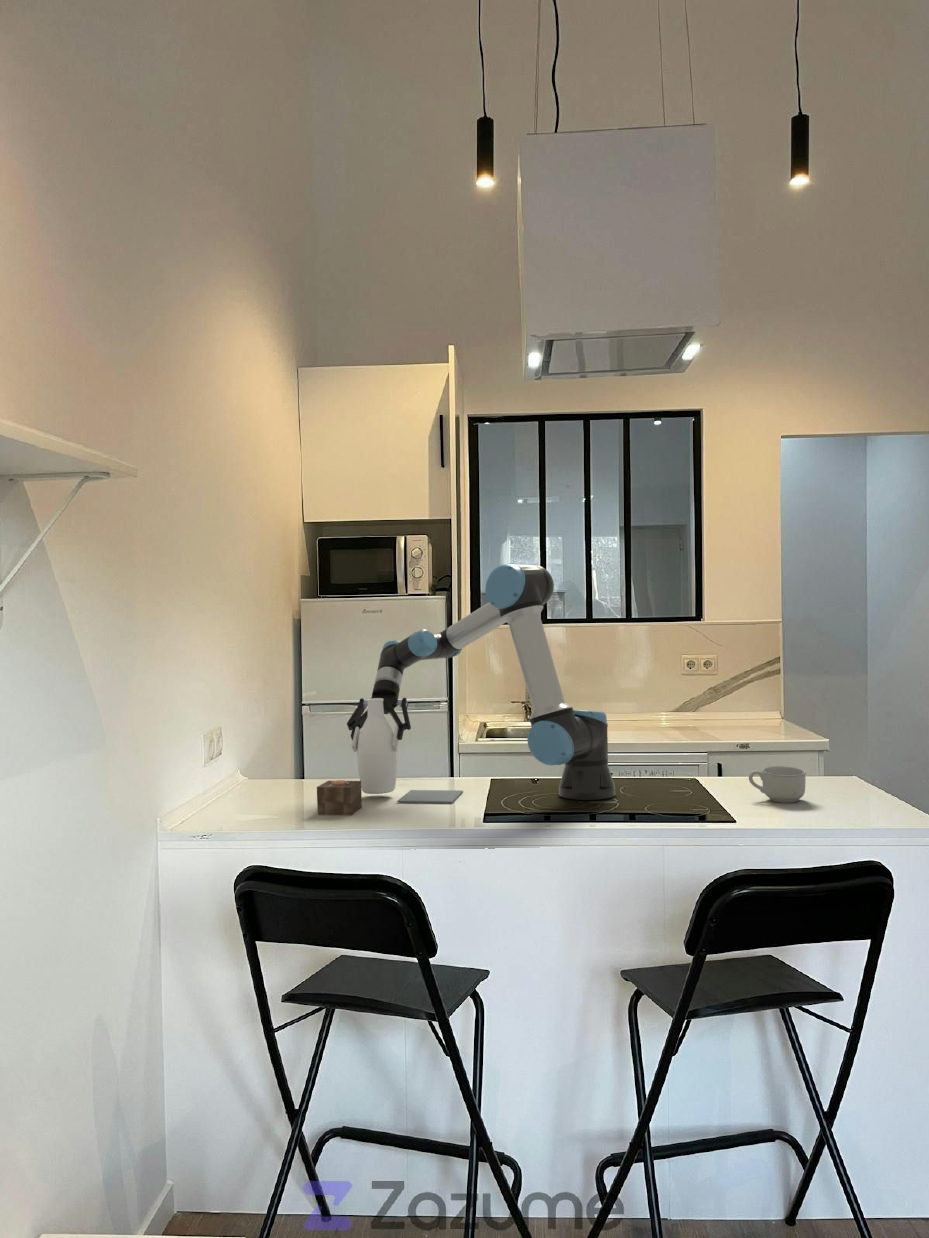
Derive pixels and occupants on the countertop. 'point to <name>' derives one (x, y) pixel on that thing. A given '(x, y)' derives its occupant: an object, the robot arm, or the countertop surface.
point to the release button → (339, 783)
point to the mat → (431, 796)
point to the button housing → (339, 798)
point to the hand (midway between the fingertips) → (373, 748)
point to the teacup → (781, 783)
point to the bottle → (376, 752)
